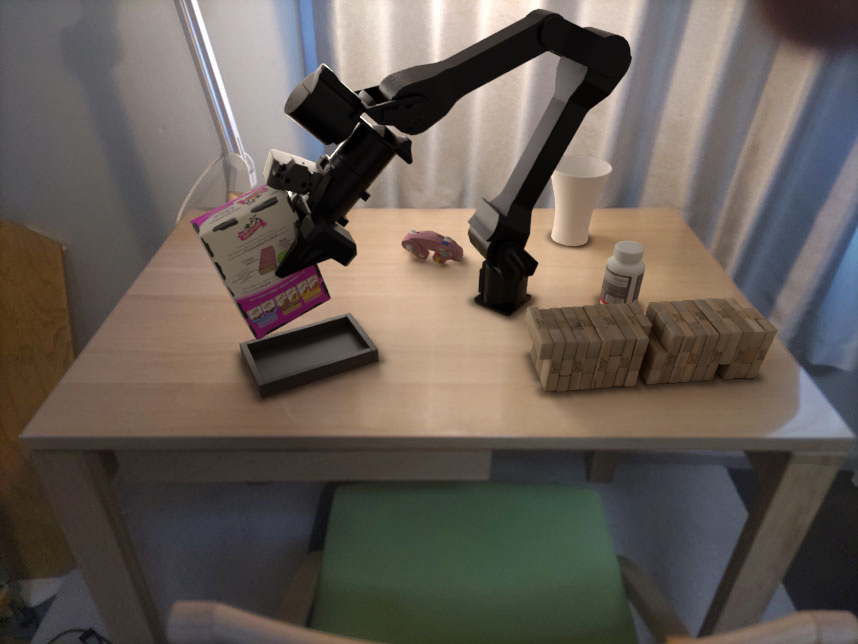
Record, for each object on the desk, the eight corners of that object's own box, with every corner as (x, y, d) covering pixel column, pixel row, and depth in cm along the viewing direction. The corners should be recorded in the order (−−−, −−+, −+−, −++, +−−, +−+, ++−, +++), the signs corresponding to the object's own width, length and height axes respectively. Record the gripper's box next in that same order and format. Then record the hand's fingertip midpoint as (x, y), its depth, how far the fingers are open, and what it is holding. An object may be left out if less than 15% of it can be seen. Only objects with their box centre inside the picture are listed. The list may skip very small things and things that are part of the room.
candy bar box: (316, 283, 83) (274, 177, 72) (332, 300, 79) (291, 192, 69) (242, 323, 79) (186, 218, 68) (256, 342, 76) (199, 235, 65)
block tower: (724, 347, 83) (518, 355, 80) (744, 296, 79) (526, 301, 75) (755, 384, 77) (532, 394, 74) (779, 331, 72) (542, 338, 69)
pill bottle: (621, 292, 93) (634, 235, 88) (643, 310, 89) (658, 252, 84) (591, 298, 92) (603, 241, 86) (612, 317, 88) (625, 258, 82)
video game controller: (403, 264, 103) (395, 239, 97) (413, 243, 105) (405, 217, 99) (458, 275, 100) (452, 250, 94) (466, 254, 102) (461, 228, 96)
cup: (530, 242, 107) (539, 169, 99) (553, 220, 114) (562, 150, 107) (587, 257, 102) (600, 182, 95) (607, 234, 110) (621, 162, 102)
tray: (351, 323, 86) (350, 312, 85) (378, 361, 79) (378, 349, 78) (241, 355, 80) (239, 343, 79) (261, 398, 73) (258, 386, 72)
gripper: (285, 103, 74) (211, 200, 77) (316, 152, 60) (224, 269, 63) (353, 157, 81) (282, 244, 84) (395, 213, 66) (308, 315, 70)
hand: (274, 265), depth 75 cm, fingers closed on candy bar box, 5 cm apart
